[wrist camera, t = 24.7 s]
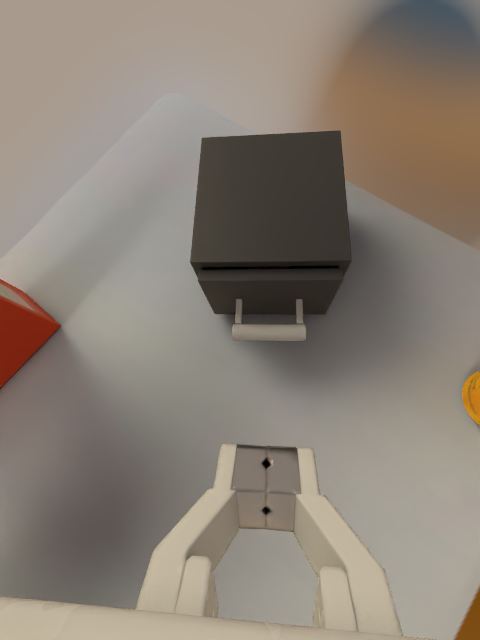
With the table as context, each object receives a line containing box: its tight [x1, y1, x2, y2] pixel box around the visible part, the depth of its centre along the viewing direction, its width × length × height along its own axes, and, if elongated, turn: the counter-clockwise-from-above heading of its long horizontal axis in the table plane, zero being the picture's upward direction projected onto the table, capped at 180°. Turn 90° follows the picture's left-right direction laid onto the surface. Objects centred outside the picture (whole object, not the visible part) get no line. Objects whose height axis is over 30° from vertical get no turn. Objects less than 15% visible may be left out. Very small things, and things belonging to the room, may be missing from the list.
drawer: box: [198, 266, 343, 341], centre depth 33 cm, size 17×13×9 cm
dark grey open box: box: [190, 131, 352, 278], centre depth 34 cm, size 14×14×11 cm
